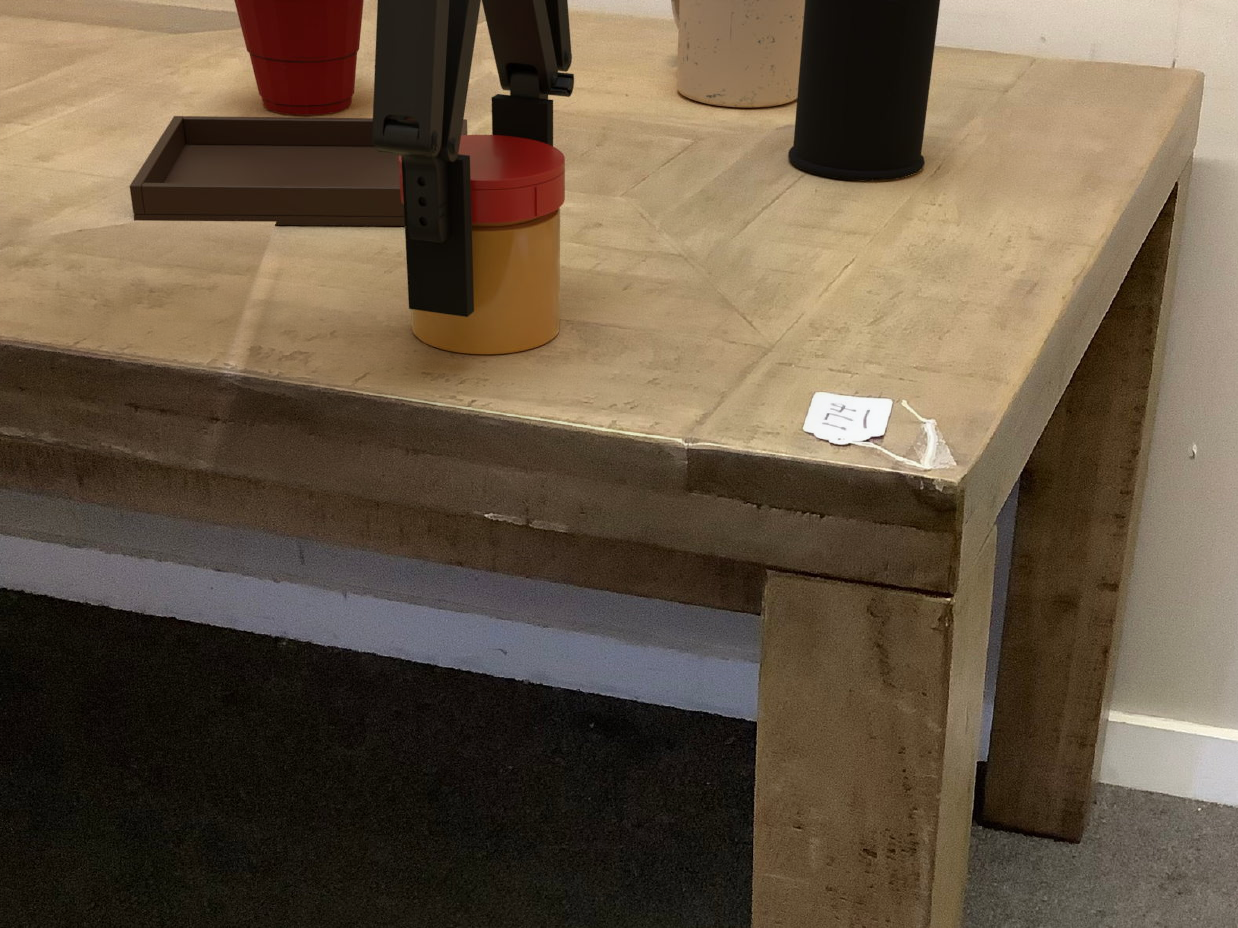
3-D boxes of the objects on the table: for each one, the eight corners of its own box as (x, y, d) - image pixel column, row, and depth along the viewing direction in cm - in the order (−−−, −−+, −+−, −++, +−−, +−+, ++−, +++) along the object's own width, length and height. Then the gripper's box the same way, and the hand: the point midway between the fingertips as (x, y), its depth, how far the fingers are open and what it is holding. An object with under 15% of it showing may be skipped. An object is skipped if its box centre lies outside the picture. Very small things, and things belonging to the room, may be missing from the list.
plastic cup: (222, 129, 104) (199, -85, 97) (222, 87, 113) (201, -113, 106) (398, 125, 106) (388, -86, 99) (385, 84, 115) (374, -113, 108)
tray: (134, 224, 88) (129, 185, 87) (178, 150, 100) (173, 115, 99) (462, 226, 89) (461, 188, 88) (468, 153, 101) (467, 119, 100)
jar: (408, 354, 74) (399, 194, 70) (415, 301, 80) (407, 150, 76) (561, 355, 75) (562, 195, 71) (558, 302, 80) (558, 151, 76)
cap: (599, 202, 74) (600, 160, 73) (472, 234, 70) (471, 190, 69) (493, 165, 78) (493, 125, 77) (367, 194, 74) (364, 152, 73)
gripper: (450, -300, 53) (469, 371, 66) (652, -320, 71) (636, 215, 84) (239, -310, 55) (297, 346, 68) (486, -328, 73) (496, 198, 85)
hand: (484, 274), depth 76 cm, fingers open, 9 cm apart
